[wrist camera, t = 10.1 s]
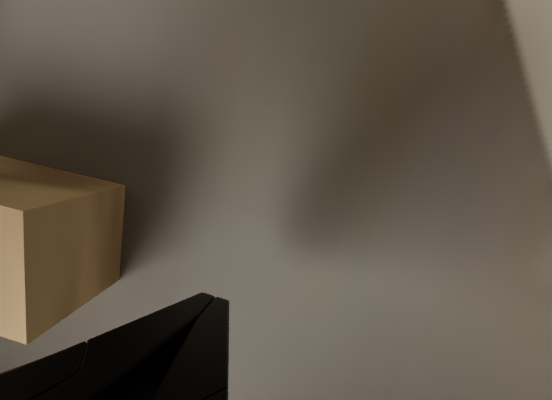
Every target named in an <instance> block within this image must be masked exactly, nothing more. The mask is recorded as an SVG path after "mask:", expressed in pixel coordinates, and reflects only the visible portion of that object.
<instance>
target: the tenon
mask: <svg viewBox="0 0 552 400" xmlns="http://www.w3.org/2000/svg"><path fill="white" fill-rule="evenodd" d="M125 187H126V185H122V184H118V183H114V182H110V181H105V180H101V179H97V178H93V177H89V176H84V175H80V174H76V173H72V172H68V171H63V170H59V169H55V168H51V167H47V166H42V165H38V164H34V163H30V162H25V161H21V160H17V159H13V158H9V157H4V156H0V336H1V337H4V338H7V339H10V340H13V341H16V342H20V343H23V344H26V345H27V344H28V343H30V342H31V341H33V340H34V339H35V338H37V337H38V336H40V335H41V334H43V333H44V332H45V331H47V330H48V329H50V328H51V327H52V326H54V325H55V324H57V323H58V322H60V321H61V320H62V319H64V318H65V317H67V316H68V315H70V314H71V313H72V312H74V311H75V310H77V309H78V308H80V307H81V306H82V305H84V304H85V303H87V302H88V301H90V300H91V299H92V298H94V297H95V296H97V295H98V294H99V293H101V292H102V291H104V290H105V289H107V288H108V287H109V286H111V285H112V284H114V283H115V282H117V281H118V280H119V278H120V263H121V247H122V232H123V217H124V202H125Z"/></svg>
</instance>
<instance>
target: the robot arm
mask: <svg viewBox="0 0 552 400" xmlns="http://www.w3.org/2000/svg"><path fill="white" fill-rule="evenodd" d="M228 363H229V301H228V300H226V299H222V298H219V297H216V298H215V297H214V296H213V295H209V294H206V293H199V294H197V295H194V296H192V297H190V298H187V299H185V300H182V301H180V302H178V303H175V304H173V305H171V306H168V307H166V308H163V309H161V310H159V311H156V312H154V313H151V314H149V315H147V316H144V317H142V318H139V319H137V320H135V321H132V322H130V323H127V324H125V325H123V326H120V327H118V328H115V329H113V330H111V331H108V332H106V333H103V334H101V335H99V336H96V337H94V338H91V339H89V340H88V341H87V343H86V342H85V341H84V342H81V343H79V344H77V345H74V346H72V347H69V348H67V349H65V350H62V351H59V352H57V353H54V354H52V355H49V356H47V357H44V358H42V359H39V360H36V361H34V362H31V363H28V364H25V365H22V366H20V367H17V368H14V369H11V370H8V371H6V372H3V373H0V400H228Z"/></svg>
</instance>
